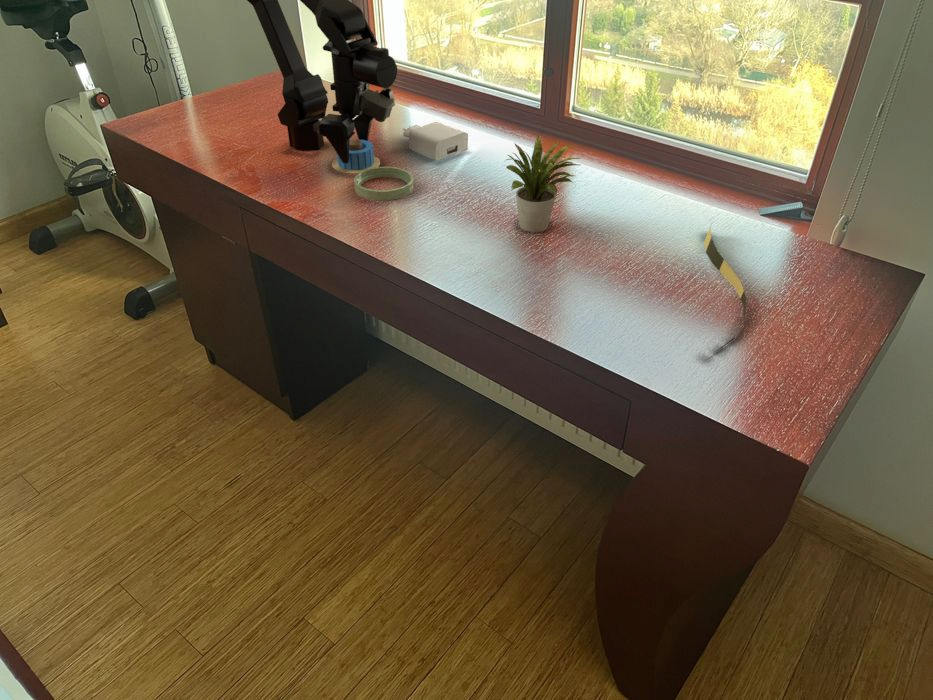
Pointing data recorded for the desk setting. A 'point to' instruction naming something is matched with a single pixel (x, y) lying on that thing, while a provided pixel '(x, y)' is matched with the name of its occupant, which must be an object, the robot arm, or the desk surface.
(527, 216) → the house plant
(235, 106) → the desk surface
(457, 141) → the charger
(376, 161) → the tape holder
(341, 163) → the blue gear
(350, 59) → the robot arm
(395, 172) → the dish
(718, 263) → the tape
